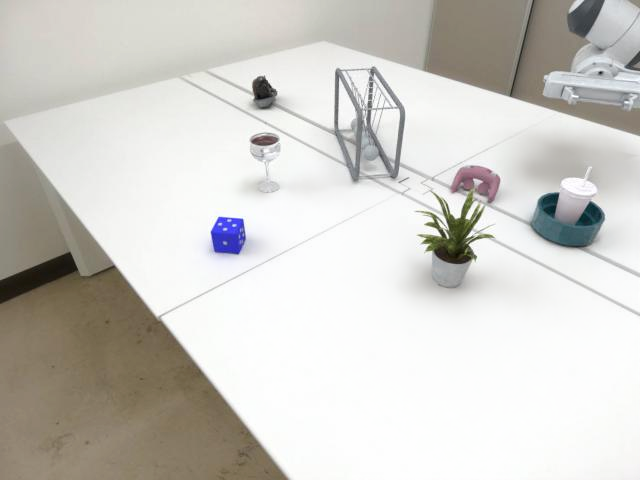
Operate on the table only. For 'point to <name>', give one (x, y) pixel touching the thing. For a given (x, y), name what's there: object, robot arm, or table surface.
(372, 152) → the newton's cradle
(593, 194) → the smoothie
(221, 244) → the die
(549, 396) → the table surface
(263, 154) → the wineglass
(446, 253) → the house plant
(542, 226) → the bowl
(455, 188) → the video game controller
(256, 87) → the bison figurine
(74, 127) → the table surface
